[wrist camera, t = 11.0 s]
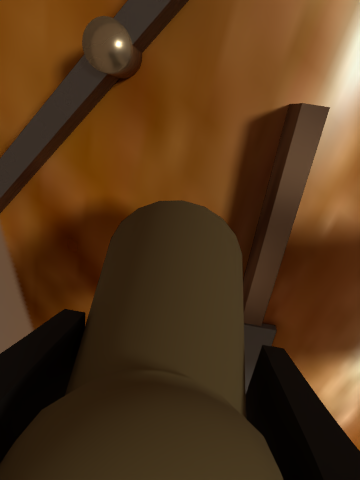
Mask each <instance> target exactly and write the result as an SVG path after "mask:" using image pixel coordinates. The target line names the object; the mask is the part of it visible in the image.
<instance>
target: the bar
mask: <svg viewBox="0 0 360 480" xmlns="http://www.w3.org/2000/svg"><path fill="white" fill-rule="evenodd" d="M188 1H189V0H128V1H127V2H126V3H125V5H124V6H123V7H122V8H121V10H120V11H119V12H118V13H117V14H116V16H115V17H114V18H111V17H107V16H101V17H97V18H95V19H93V20H92V21H91V22H90V23H89V24H88V25H87V27H86V29H85V31H84V34H83V40H82V45H83V51H84V55H83V57H82V58H81V59H80V60H79V62H78V63H77V64H76V65H75V67H74V68H73V69H72V70H71V71H70V73H69V74H68V75H67V76H66V78H65V79H64V80H63V81H62V83H61V84H60V85H59V86H58V88H57V89H56V90H55V91H54V93H53V94H52V95H51V96H50V98H49V99H48V100H47V101H46V102H45V104H44V105H43V106H42V107H41V109H40V110H39V111H38V112H37V114H36V115H35V116H34V117H33V119H32V120H31V121H30V122H29V124H28V125H27V126H26V127H25V129H24V130H23V131H22V132H21V133H20V135H19V136H18V137H17V138H16V140H15V141H14V142H13V143H12V145H11V146H10V147H9V148H8V150H7V151H6V152H5V153H4V155H3V156H2V157H1V158H0V213H1V212H2V211H3V210H4V209H5V207H6V206H7V205H8V204H9V203H10V202H11V201H12V200H13V198H14V197H15V196H16V195H17V194H18V193H19V192H20V191H21V189H22V188H23V187H24V186H25V185H26V184H27V183H28V181H29V180H30V179H31V178H32V177H33V176H34V175H35V174H36V172H37V171H38V170H39V169H40V168H41V167H42V166H43V165H44V163H45V162H46V161H47V160H48V159H49V158H50V157H51V155H52V154H53V153H54V152H55V151H56V150H57V149H58V148H59V146H60V145H61V144H62V143H63V142H64V141H65V140H66V139H67V137H68V136H69V135H70V134H71V133H72V132H73V131H74V129H75V128H76V127H77V126H78V125H79V124H80V123H81V122H82V120H83V119H84V118H85V117H86V116H87V115H88V114H89V112H90V111H91V110H92V109H93V108H94V107H95V106H96V105H97V103H98V102H99V101H100V100H101V99H102V98H103V97H104V96H105V94H106V93H107V92H108V91H109V90H110V89H111V88H112V86H113V85H114V84H115V83H116V82H117V81H118V80H119V79H120V78H121V79H126V78H129V77H132V76H133V75H134V74H136V72H137V71H138V70H139V68H140V66H141V62H142V53H143V51H144V50H145V49H146V48H147V47H148V46H149V45H150V44H151V42H152V41H153V40H154V39H155V38H156V37H157V36H158V34H159V33H160V32H161V31H162V30H163V29H164V28H165V27H166V25H167V24H168V23H169V22H170V21H171V20H172V19H173V18H174V16H175V15H176V14H177V13H178V12H179V11H180V10H181V8H182V7H183V6H184V5H185V4H186V3H187V2H188Z"/></svg>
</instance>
